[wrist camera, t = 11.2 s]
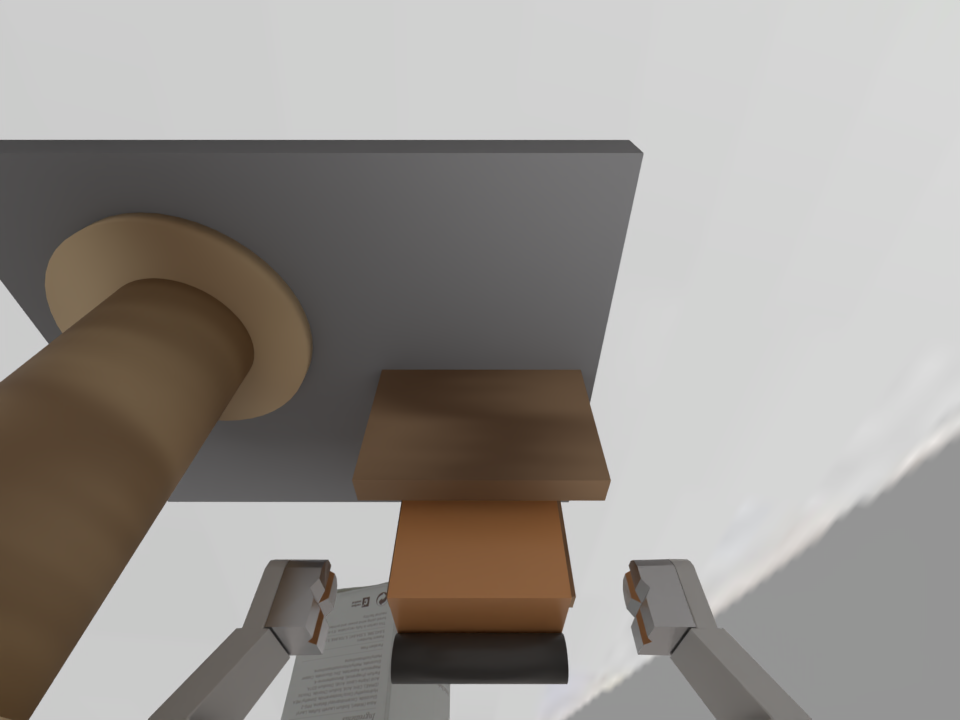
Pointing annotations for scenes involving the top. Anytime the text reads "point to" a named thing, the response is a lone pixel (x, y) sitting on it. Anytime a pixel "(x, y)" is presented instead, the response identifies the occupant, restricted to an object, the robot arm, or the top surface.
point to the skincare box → (359, 669)
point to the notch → (482, 440)
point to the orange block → (479, 593)
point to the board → (354, 266)
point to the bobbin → (124, 416)
